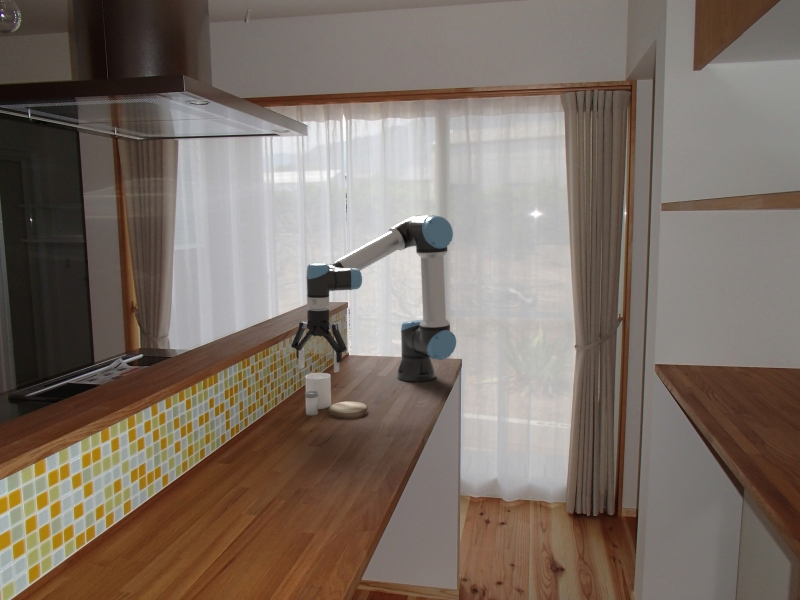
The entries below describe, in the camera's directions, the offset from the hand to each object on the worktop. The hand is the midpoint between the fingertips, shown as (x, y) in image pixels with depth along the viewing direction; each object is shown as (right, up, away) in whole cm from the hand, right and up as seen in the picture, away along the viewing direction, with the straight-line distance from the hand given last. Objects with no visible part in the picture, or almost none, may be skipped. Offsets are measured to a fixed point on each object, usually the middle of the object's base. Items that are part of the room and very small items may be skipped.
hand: (318, 369), depth 226 cm
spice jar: (-1, -14, -8) cm, 16 cm away
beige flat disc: (+11, -13, -7) cm, 19 cm away
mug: (0, -12, +2) cm, 13 cm away
